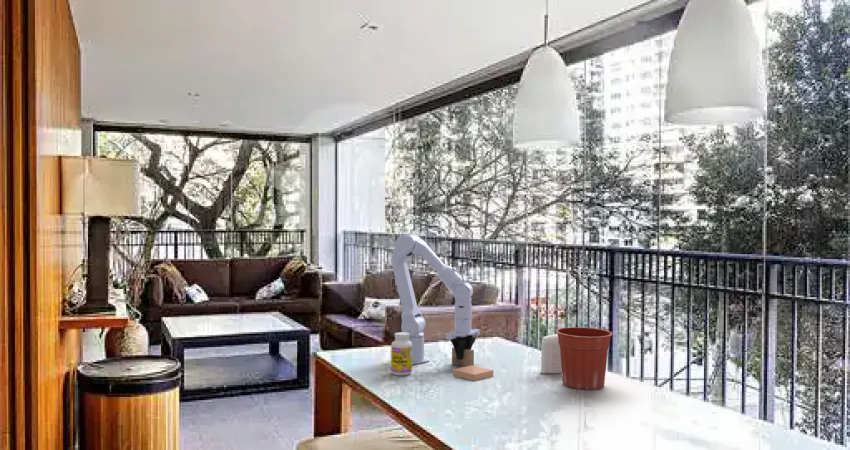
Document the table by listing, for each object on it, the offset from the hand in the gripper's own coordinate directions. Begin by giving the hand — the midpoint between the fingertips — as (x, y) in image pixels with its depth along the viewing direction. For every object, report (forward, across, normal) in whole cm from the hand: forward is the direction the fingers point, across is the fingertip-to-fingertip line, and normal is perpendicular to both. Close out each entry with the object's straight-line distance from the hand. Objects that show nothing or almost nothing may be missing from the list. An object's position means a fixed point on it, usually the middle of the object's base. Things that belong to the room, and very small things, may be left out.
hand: (462, 358), depth 221 cm
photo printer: (+2, +16, -27) cm, 31 cm away
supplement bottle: (+2, -24, +4) cm, 24 cm away
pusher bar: (+2, 0, 0) cm, 2 cm away
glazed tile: (+2, -8, -8) cm, 12 cm away
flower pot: (+3, +9, -42) cm, 43 cm away
